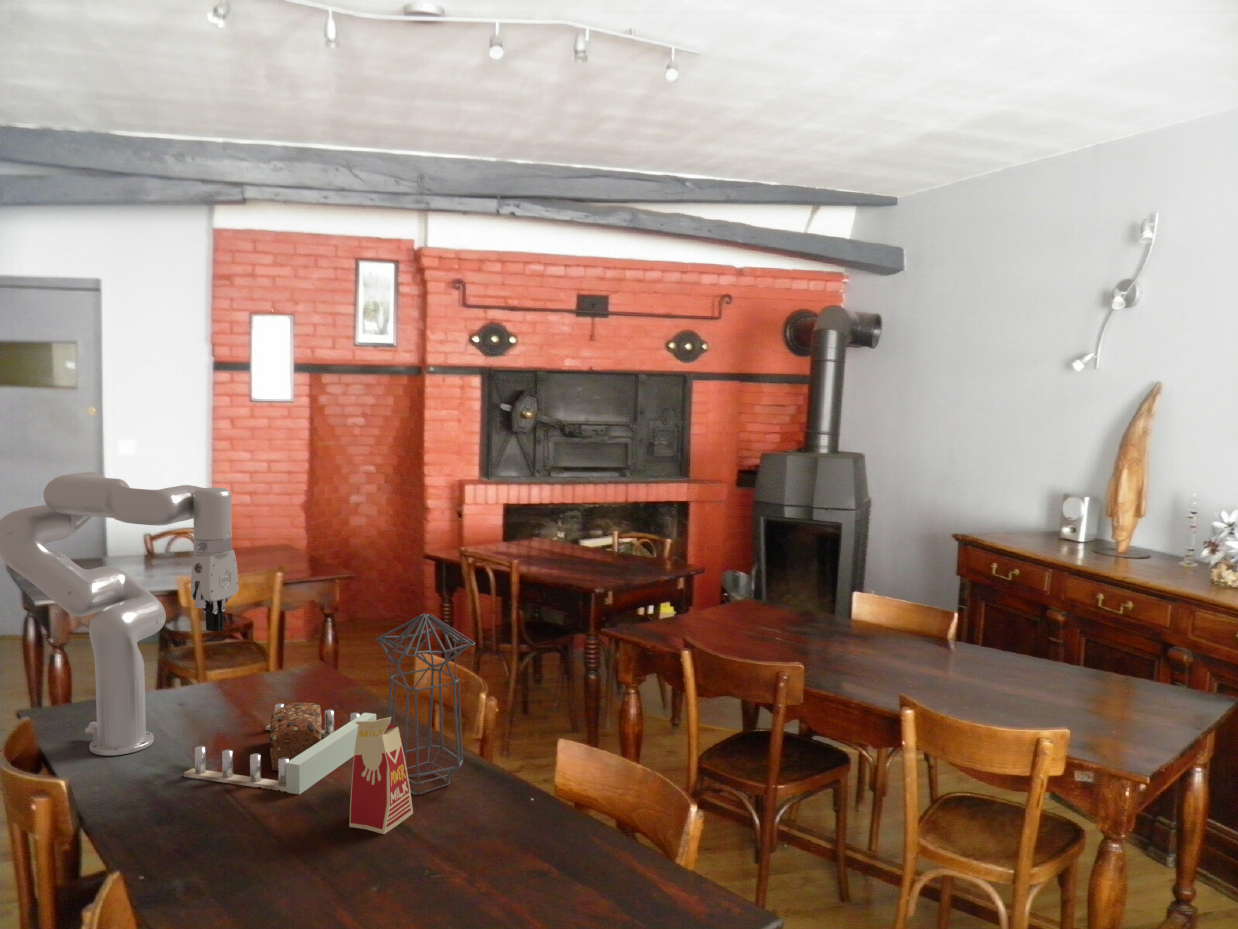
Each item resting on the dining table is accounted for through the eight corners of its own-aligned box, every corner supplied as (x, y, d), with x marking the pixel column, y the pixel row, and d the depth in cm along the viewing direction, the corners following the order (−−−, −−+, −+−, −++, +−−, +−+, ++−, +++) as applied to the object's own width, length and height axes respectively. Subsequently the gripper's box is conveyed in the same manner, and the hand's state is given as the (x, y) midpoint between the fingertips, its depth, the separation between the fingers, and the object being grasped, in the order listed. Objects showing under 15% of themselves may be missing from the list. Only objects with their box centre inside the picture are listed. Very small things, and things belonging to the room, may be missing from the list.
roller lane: (182, 777, 194) (182, 748, 194) (272, 726, 223) (272, 701, 222) (299, 794, 187) (299, 765, 187) (376, 739, 216) (376, 714, 216)
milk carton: (413, 813, 180) (413, 710, 178) (385, 835, 172) (385, 727, 170) (371, 805, 183) (371, 704, 181) (342, 826, 174) (342, 720, 173)
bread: (321, 769, 200) (321, 723, 199) (267, 774, 197) (267, 727, 196) (322, 737, 218) (321, 694, 217) (272, 741, 214) (272, 698, 214)
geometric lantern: (372, 780, 195) (371, 611, 192) (441, 762, 204) (441, 601, 201) (406, 807, 182) (406, 628, 179) (478, 787, 192) (479, 617, 189)
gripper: (204, 553, 195) (206, 641, 197) (250, 541, 209) (251, 623, 211) (173, 550, 197) (175, 637, 199) (221, 539, 211) (222, 620, 213)
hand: (214, 630), depth 205 cm, fingers closed
